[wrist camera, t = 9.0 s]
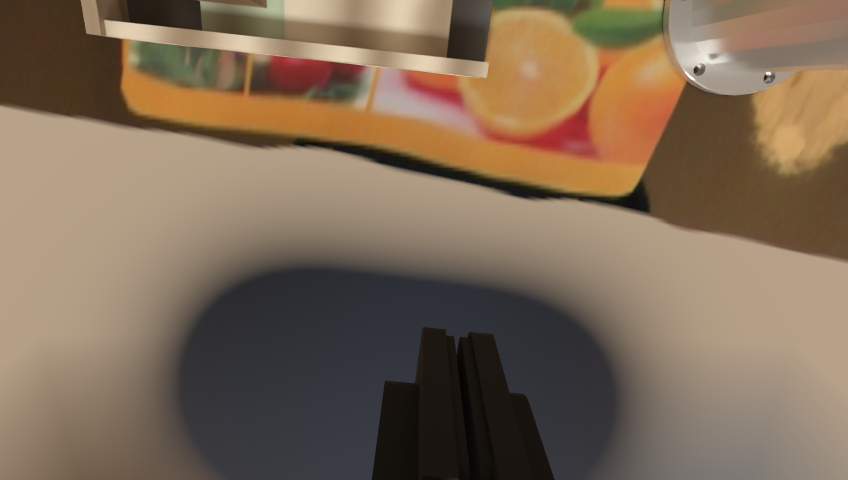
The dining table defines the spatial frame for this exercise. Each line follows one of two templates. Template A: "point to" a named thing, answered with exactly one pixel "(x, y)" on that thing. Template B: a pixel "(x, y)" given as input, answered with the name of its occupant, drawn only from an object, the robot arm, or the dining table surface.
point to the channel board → (313, 30)
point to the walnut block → (242, 2)
